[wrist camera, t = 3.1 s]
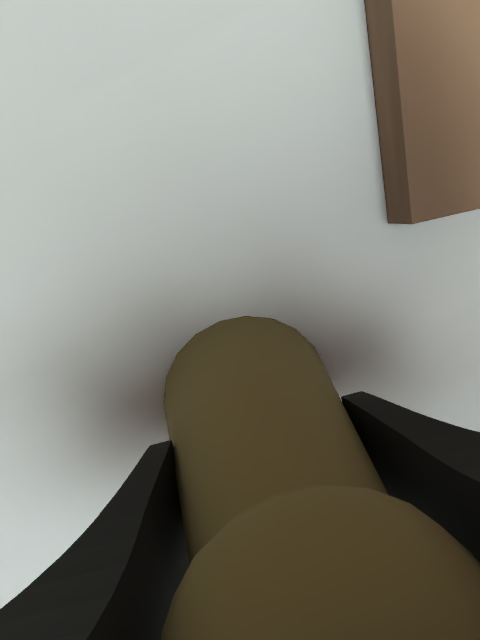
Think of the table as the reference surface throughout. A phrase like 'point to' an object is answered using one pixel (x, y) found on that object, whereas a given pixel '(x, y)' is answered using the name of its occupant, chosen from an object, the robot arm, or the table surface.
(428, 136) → the tan wooden plank
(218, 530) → the cork
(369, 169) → the table surface
